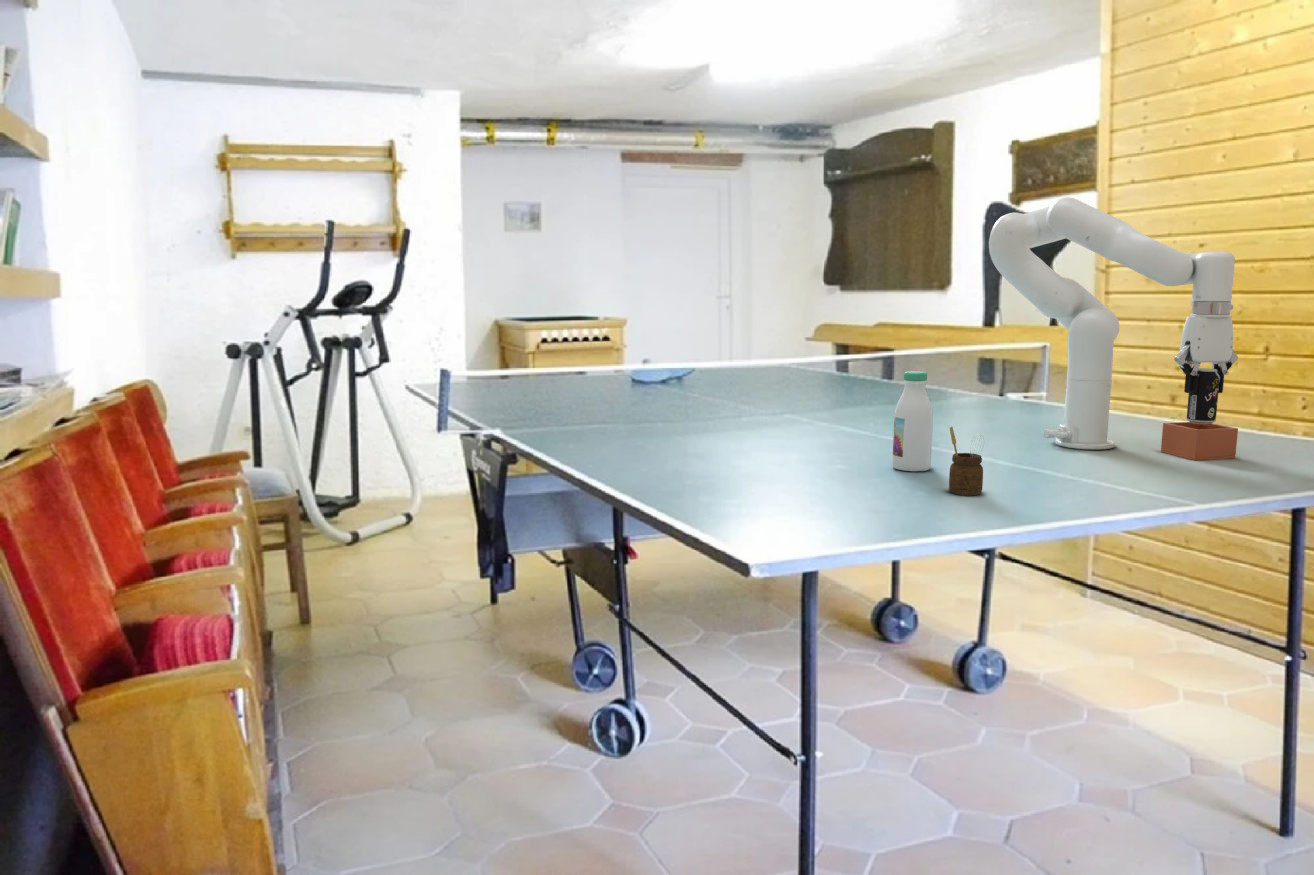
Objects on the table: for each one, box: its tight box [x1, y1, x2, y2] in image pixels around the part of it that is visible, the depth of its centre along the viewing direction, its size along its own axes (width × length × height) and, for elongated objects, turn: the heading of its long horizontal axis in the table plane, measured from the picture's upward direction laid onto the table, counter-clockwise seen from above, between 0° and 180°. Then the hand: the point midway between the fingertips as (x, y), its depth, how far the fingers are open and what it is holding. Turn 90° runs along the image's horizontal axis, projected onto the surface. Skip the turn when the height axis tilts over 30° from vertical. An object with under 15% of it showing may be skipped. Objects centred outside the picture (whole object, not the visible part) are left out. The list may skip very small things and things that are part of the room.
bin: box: [1160, 421, 1239, 461], centre depth 224 cm, size 10×10×7 cm
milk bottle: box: [891, 370, 934, 472], centre depth 207 cm, size 8×8×20 cm
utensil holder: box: [948, 426, 986, 496], centre depth 186 cm, size 6×6×12 cm
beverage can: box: [1186, 367, 1220, 425], centre depth 222 cm, size 6×6×12 cm
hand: (1203, 392), depth 222 cm, fingers closed on beverage can, 5 cm apart
